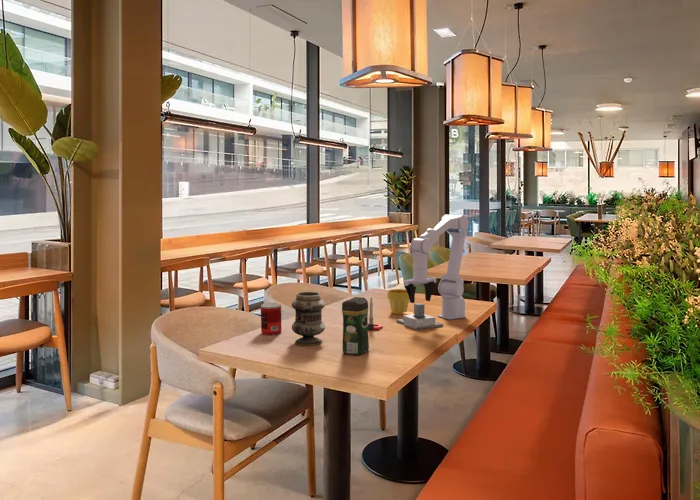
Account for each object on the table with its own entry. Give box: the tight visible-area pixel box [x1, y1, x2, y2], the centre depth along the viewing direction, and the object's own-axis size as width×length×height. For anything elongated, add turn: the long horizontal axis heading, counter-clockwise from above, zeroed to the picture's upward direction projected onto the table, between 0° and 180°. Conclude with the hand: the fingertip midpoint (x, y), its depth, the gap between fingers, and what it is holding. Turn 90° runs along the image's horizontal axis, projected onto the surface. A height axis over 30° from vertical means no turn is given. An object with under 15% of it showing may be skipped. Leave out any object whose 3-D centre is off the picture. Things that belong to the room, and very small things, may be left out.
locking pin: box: [413, 302, 425, 318], centre depth 230 cm, size 3×3×8 cm
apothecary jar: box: [291, 290, 326, 347], centre depth 206 cm, size 12×12×18 cm
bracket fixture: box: [395, 311, 444, 331], centre depth 233 cm, size 12×16×4 cm
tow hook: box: [368, 297, 383, 331], centre depth 228 cm, size 8×13×9 cm
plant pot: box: [387, 288, 410, 315], centre depth 256 cm, size 10×10×10 cm
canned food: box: [260, 302, 283, 336], centre depth 220 cm, size 8×8×11 cm
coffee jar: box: [341, 296, 370, 356], centre depth 193 cm, size 10×8×19 cm
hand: (420, 301), depth 230 cm, fingers open, 7 cm apart
